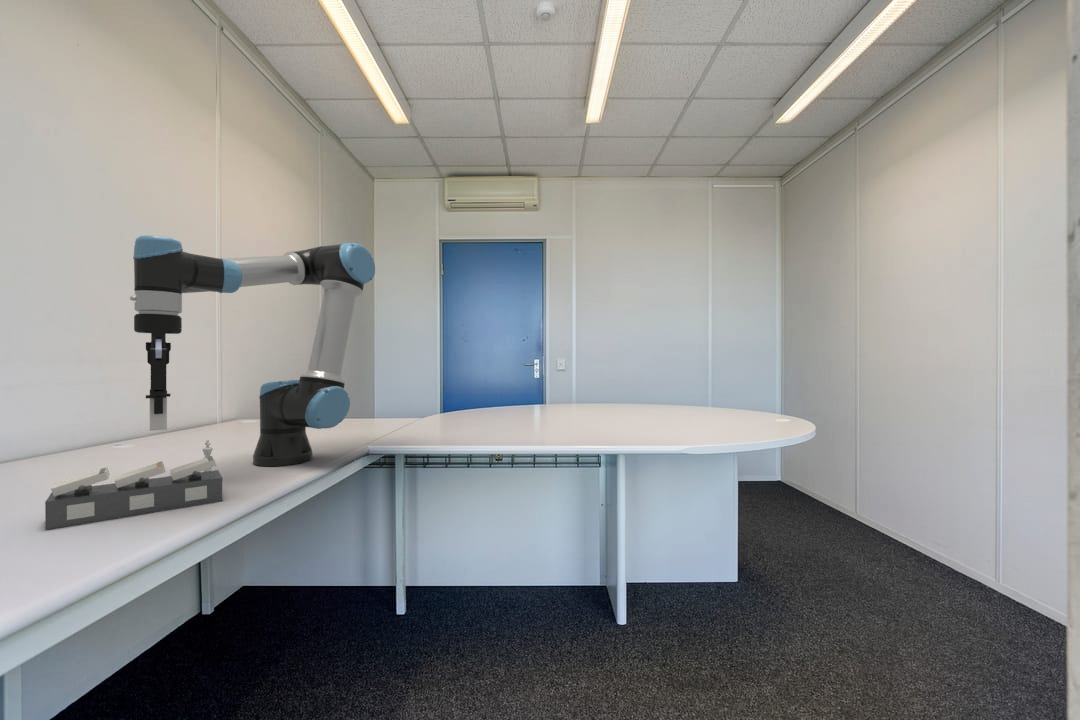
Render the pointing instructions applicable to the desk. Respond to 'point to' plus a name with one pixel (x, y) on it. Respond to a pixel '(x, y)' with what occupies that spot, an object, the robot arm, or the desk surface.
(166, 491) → the rocker switch box
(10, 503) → the desk surface
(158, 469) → the rocker
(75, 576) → the desk surface
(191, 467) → the rocker
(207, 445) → the chess piece
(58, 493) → the rocker
